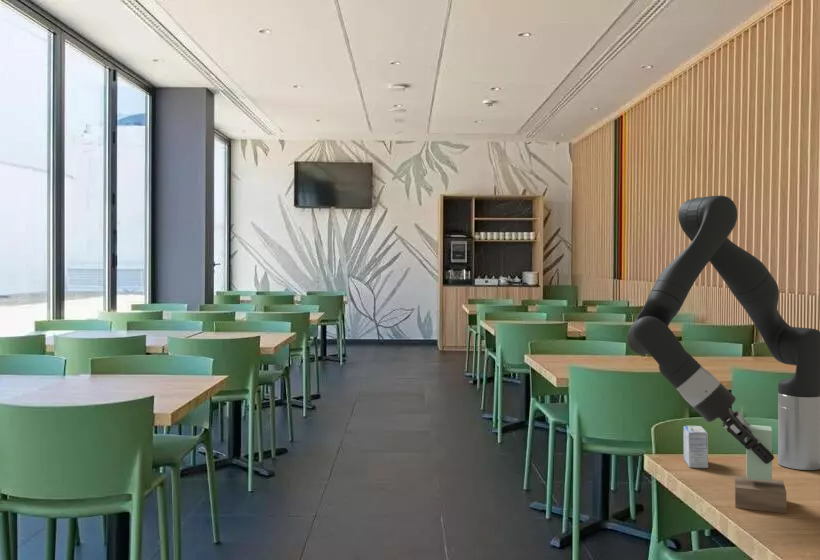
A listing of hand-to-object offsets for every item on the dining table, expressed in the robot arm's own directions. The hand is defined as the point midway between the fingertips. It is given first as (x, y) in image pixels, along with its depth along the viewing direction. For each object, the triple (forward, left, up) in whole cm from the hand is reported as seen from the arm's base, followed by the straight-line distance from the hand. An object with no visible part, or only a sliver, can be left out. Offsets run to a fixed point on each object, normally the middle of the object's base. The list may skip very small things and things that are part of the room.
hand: (769, 457), depth 145 cm
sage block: (0, -2, -4) cm, 5 cm away
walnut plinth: (0, -2, -9) cm, 10 cm away
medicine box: (-27, -15, -10) cm, 32 cm away
